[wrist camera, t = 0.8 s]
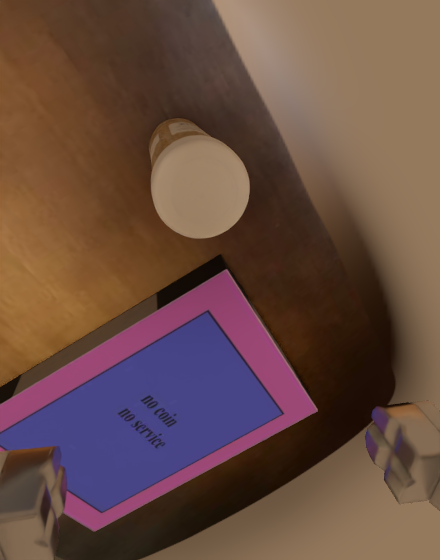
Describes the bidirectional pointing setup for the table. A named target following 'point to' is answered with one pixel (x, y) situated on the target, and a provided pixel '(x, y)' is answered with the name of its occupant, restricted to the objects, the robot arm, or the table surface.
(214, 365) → the book
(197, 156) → the sprinkles bottle
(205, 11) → the table surface
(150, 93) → the table surface
